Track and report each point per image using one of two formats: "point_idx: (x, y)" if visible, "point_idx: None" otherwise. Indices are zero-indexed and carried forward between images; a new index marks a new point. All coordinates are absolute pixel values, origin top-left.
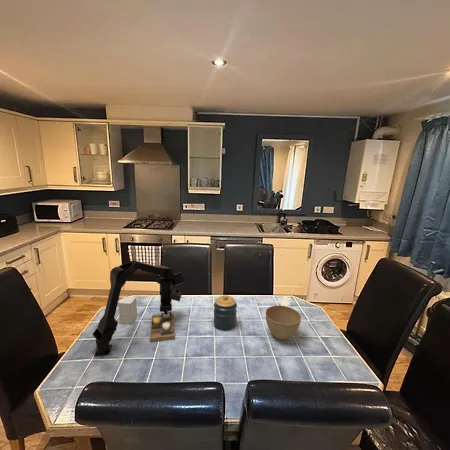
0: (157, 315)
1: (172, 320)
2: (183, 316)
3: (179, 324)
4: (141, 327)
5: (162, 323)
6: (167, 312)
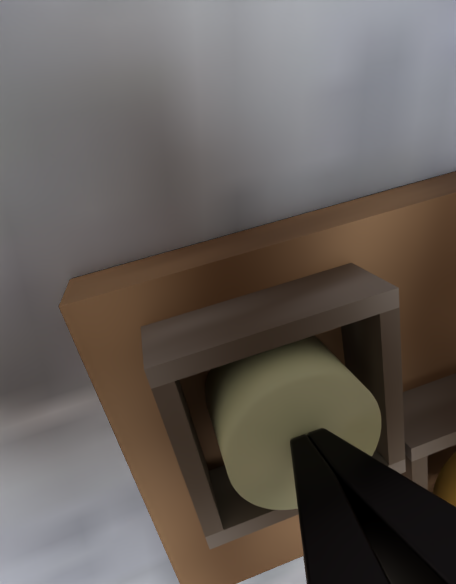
0: (185, 544)
1: (346, 251)
2: (27, 35)
3: (341, 94)
4: None
5: (453, 391)
6: (378, 462)
